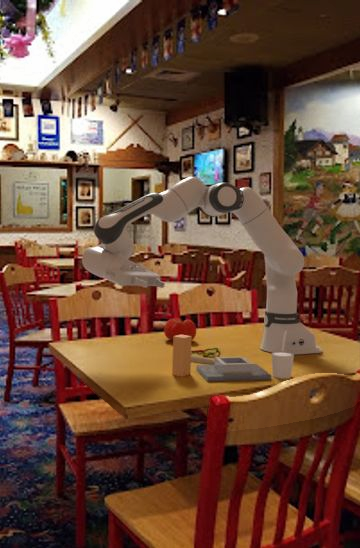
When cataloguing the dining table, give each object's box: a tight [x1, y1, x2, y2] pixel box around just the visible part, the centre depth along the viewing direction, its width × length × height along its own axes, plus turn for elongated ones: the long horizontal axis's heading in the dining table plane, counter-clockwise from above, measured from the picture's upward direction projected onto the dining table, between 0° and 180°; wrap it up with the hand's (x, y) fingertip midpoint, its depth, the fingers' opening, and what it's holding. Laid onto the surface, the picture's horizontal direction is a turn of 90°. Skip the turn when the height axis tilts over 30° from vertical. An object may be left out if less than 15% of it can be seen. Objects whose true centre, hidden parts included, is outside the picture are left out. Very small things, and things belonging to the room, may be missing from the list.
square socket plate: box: [195, 356, 272, 383], centre depth 200 cm, size 20×14×4 cm
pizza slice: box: [191, 347, 221, 365], centre depth 224 cm, size 16×21×3 cm
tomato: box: [163, 317, 197, 341], centre depth 248 cm, size 13×12×8 cm
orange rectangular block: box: [171, 335, 192, 378], centre depth 198 cm, size 4×4×12 cm
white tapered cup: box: [271, 352, 295, 379], centre depth 200 cm, size 7×7×7 cm
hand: (155, 285), depth 205 cm, fingers open, 8 cm apart
